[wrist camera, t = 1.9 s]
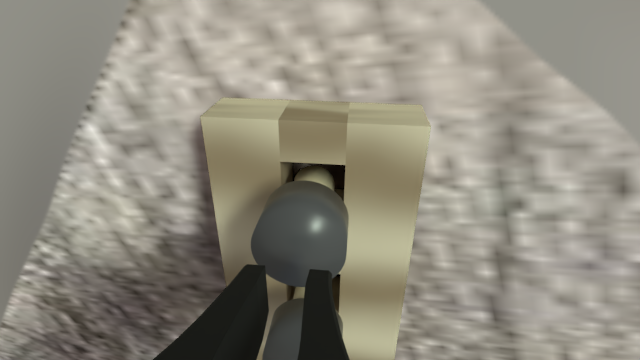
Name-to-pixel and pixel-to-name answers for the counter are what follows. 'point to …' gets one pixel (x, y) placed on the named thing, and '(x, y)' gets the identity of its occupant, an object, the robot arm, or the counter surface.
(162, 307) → the counter surface
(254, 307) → the robot arm
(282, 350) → the knob middle
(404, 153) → the knob mount
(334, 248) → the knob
